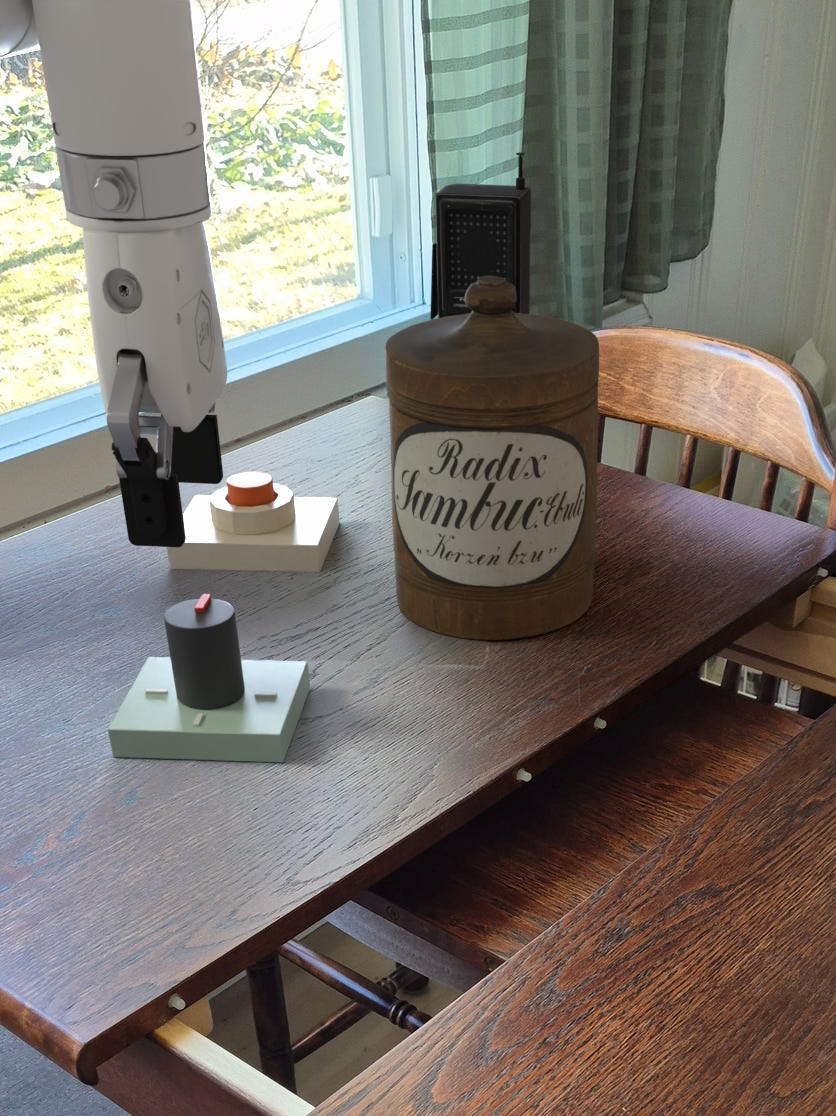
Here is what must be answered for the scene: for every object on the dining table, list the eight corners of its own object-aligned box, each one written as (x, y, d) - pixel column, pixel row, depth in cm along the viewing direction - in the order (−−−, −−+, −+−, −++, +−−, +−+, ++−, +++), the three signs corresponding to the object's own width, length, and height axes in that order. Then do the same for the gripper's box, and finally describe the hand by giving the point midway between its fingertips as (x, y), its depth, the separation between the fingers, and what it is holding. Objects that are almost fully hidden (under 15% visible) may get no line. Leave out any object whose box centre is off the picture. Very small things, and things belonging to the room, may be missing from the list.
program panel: (112, 757, 91) (106, 727, 89) (152, 683, 98) (147, 654, 97) (283, 763, 90) (280, 732, 89) (310, 688, 98) (307, 658, 96)
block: (169, 569, 113) (161, 519, 110) (198, 520, 120) (191, 472, 118) (320, 572, 112) (315, 522, 109) (339, 523, 120) (336, 475, 117)
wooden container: (386, 641, 103) (367, 308, 88) (406, 557, 114) (392, 249, 100) (592, 644, 102) (607, 309, 88) (593, 560, 113) (606, 250, 99)
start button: (225, 509, 113) (222, 487, 111) (234, 492, 115) (231, 470, 114) (270, 510, 112) (267, 488, 111) (278, 493, 115) (276, 471, 114)
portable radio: (428, 491, 125) (416, 160, 108) (446, 467, 129) (437, 145, 113) (516, 498, 123) (518, 163, 107) (531, 473, 128) (534, 148, 111)
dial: (236, 710, 91) (225, 624, 87) (169, 708, 91) (154, 622, 88) (251, 678, 94) (240, 594, 91) (186, 676, 95) (173, 592, 91)
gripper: (165, 226, 68) (207, 575, 79) (242, 153, 81) (268, 462, 92) (10, 221, 68) (74, 569, 79) (111, 150, 81) (154, 458, 92)
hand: (178, 511), depth 86 cm, fingers open, 9 cm apart
